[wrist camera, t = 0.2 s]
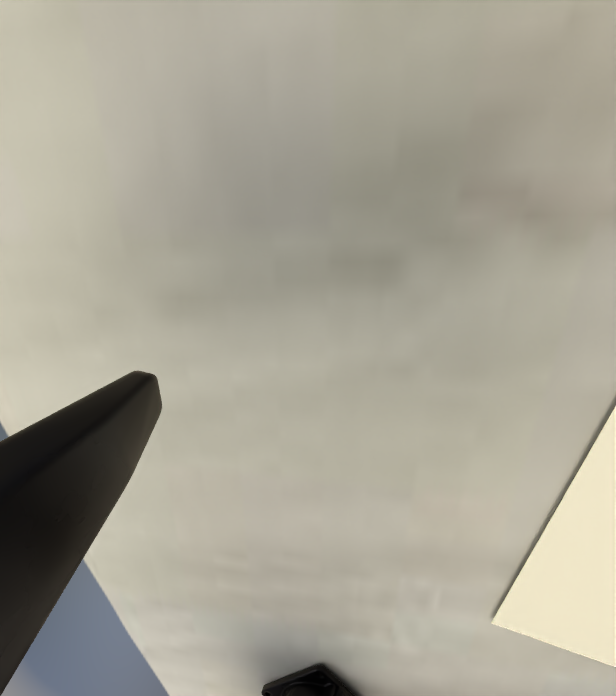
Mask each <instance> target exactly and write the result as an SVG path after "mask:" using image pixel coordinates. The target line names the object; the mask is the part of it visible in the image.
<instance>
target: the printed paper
mask: <svg viewBox="0 0 616 696" xmlns="http://www.w3.org/2000/svg"><path fill="white" fill-rule="evenodd" d="M491 623H492V624H495V625H498V626H501V627H504V628H506V629H509V630H512V631H515V632H518V633H520V634H523V635H526V636H529V637H532V638H534V639H537V640H540V641H543V642H546V643H549V644H551V645H554V646H557V647H560V648H563V649H565V650H568V651H571V652H574V653H577V654H580V655H582V656H585V657H588V658H591V659H594V660H596V661H599V662H602V663H605V664H608V665H610V666H613V667H616V407H615V408H614V410H613V412H612V414H611V415H610V417H609V419H608V420H607V422H606V424H605V426H604V427H603V429H602V431H601V433H600V434H599V436H598V438H597V440H596V441H595V443H594V445H593V447H592V448H591V450H590V452H589V454H588V455H587V457H586V459H585V461H584V462H583V464H582V466H581V467H580V469H579V471H578V473H577V474H576V476H575V478H574V480H573V481H572V483H571V485H570V487H569V488H568V490H567V492H566V494H565V495H564V497H563V499H562V501H561V502H560V504H559V506H558V508H557V509H556V511H555V513H554V514H553V516H552V518H551V520H550V521H549V523H548V525H547V527H546V528H545V530H544V532H543V534H542V535H541V537H540V539H539V541H538V542H537V544H536V546H535V548H534V549H533V551H532V553H531V555H530V556H529V558H528V560H527V561H526V563H525V565H524V567H523V568H522V570H521V572H520V574H519V575H518V577H517V579H516V581H515V582H514V584H513V586H512V588H511V589H510V591H509V593H508V595H507V596H506V598H505V600H504V602H503V603H502V605H501V607H500V609H499V610H498V612H497V614H496V615H495V617H494V619H493V621H492V622H491Z"/></svg>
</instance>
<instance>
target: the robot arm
mask: <svg viewBox="0 0 616 696" xmlns="http://www.w3.org/2000/svg"><path fill="white" fill-rule="evenodd" d="M161 409H162V401H161V396H160V390H159V385H158V380H157V377H156V376H155V375H153V374H151V373H146V372H142V371H133V372H131V373H129V374H127V375H125V376H123V377H121V378H120V379H118V380H116V381H114V382H112V383H110V384H108V385H106V386H104V387H103V388H101V389H99V390H97V391H95V392H93V393H91V394H89V395H87V396H86V397H84V398H82V399H80V400H78V401H76V402H74V403H72V404H70V405H69V406H67V407H65V408H63V409H61V410H59V411H57V412H55V413H53V414H52V415H50V416H48V417H46V418H44V419H42V420H40V421H38V422H36V423H35V424H33V425H31V426H29V427H27V428H25V429H23V430H21V431H19V432H18V433H16V434H14V435H12V436H10V437H8V438H6V439H4V440H2V441H1V442H0V695H1V694H2V693H3V691H4V689H5V687H6V686H7V684H8V682H9V681H10V679H11V678H12V676H13V674H14V672H15V671H16V669H17V667H18V666H19V664H20V662H21V661H22V659H23V658H24V656H25V654H26V653H27V651H28V649H29V647H30V645H31V644H32V643H33V641H34V639H35V638H36V636H37V634H38V633H39V631H40V629H41V628H42V626H43V624H44V623H45V621H46V619H47V617H48V616H49V614H50V612H51V611H52V609H53V608H54V606H55V604H56V603H57V601H58V599H59V598H60V596H61V594H62V593H63V590H64V589H65V588H66V586H67V584H68V583H69V581H70V579H71V578H72V576H73V574H74V573H75V571H76V569H77V567H78V566H79V564H80V563H81V561H82V559H83V558H84V556H85V554H86V553H87V551H88V549H89V548H90V546H91V544H92V543H93V541H94V539H95V538H96V536H97V534H98V533H99V531H100V529H101V528H102V526H103V524H104V523H105V521H106V519H107V518H108V516H109V514H110V513H111V511H112V509H113V508H114V506H115V504H116V503H117V501H118V499H119V498H120V496H121V494H122V493H123V491H124V489H125V487H126V486H127V484H128V482H129V480H130V478H131V476H132V474H133V472H134V470H135V468H136V466H137V464H138V461H139V459H140V457H141V455H142V453H143V451H144V448H145V446H146V444H147V442H148V440H149V437H150V435H151V433H152V431H153V429H154V427H155V424H156V422H157V420H158V418H159V416H160V413H161ZM262 695H263V696H355V695H354V694H352V693H351V692H350V691H349V690H348V689H347V688H346V687H345V686H344V685H343V684H342V683H341V682H340V681H339V680H338V679H337V678H336V677H335V676H334V675H333V674H332V673H331V672H330V671H329V670H328V669H327V668H326V667H324V666H322V665H316V666H313V667H310V668H308V669H305V670H303V671H300V672H297V673H295V674H292V675H290V676H287V677H284V678H282V679H279V680H277V681H274V682H271V683H269V684H266V685H264V687H263V690H262Z"/></svg>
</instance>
